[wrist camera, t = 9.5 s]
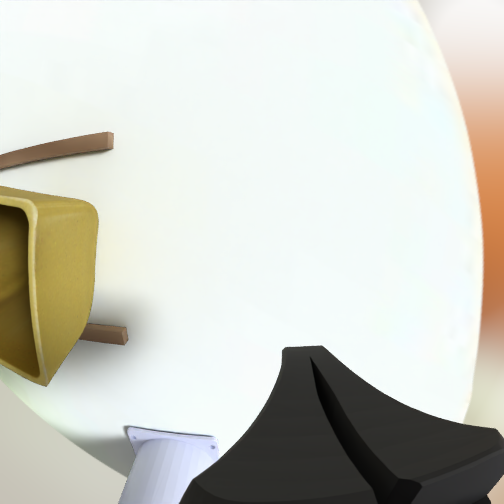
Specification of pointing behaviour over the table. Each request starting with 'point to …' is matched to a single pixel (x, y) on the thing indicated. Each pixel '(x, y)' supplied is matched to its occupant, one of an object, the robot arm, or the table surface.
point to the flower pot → (44, 279)
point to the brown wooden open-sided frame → (62, 149)
